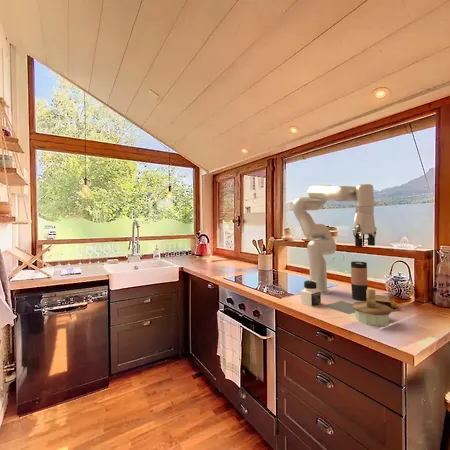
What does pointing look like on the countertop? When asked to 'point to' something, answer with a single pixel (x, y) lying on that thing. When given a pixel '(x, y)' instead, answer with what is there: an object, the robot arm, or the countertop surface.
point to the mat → (342, 307)
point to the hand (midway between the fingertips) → (365, 246)
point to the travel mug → (359, 280)
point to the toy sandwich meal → (386, 302)
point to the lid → (371, 305)
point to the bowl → (372, 319)
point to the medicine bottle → (310, 294)
